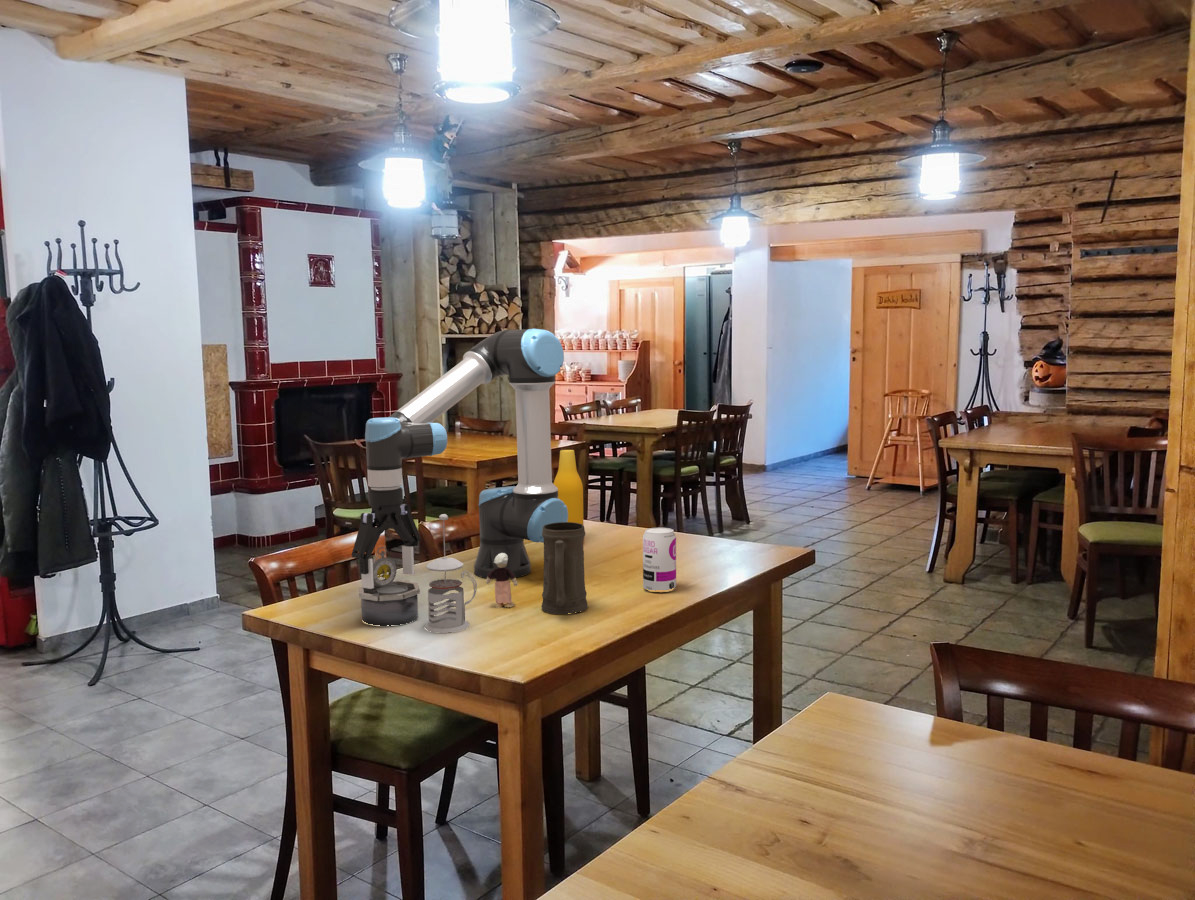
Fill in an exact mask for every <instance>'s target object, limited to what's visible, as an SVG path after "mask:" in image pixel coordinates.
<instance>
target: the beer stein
mask: <svg viewBox="0 0 1195 900" xmlns="http://www.w3.org/2000/svg"><path fill="white" fill-rule="evenodd" d="M583 525H584V524H583ZM583 525H582V524H579V523H574V522H558V523H551V524H547V525H544V526H543V531H542V536H543V538H544V543H543V587H542V588H543V590H542V594H541V597H542V603H541V611H543V612H544V613H547V612H548V613H547V614H551V613H552V614H551V615H559V614H568V613H575V612H580V611H583V612H585V611H586V610H585V609H587V610H588V608H589V606H588V605H589V604H588V601H587V594H588V593H587V590H586V582H585V563H584V562H585V557H584V556H585V555H584V554H585V553H584V552H585V551H584V544H583V540H584V541H585V536H586V531H585V526H583ZM584 610H585V611H584ZM568 615H569V614H568Z"/></svg>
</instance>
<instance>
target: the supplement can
mask: <svg viewBox="0 0 1195 900" xmlns="http://www.w3.org/2000/svg"><path fill="white" fill-rule="evenodd" d="M642 587H643V589H644V590H646V589H648V590H655V591H656V590H669V589H672V588H675V587H676V588H677V535H676V534H675V532H674V529H672V528H669V527H651V528H646V529H645V530H644V533H643V535H642ZM676 588H675V589H676Z"/></svg>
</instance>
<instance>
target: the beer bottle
mask: <svg viewBox="0 0 1195 900" xmlns="http://www.w3.org/2000/svg"><path fill="white" fill-rule="evenodd" d="M575 454H576V453H575V450H574V449H561V450H560V451H559V458H558V459H559V460H558V462H559V463H558V470H557V473H556V476H555V477H554V480H553V482H552V483H553V484H554V485H555V486H556V487H557V488H558V499H560V500H561V501H563V502H564V504H565V505H566V507H567V510H568V520H567V522H574V523H579V524H582V525H583V526H584V485H583V482H582V478H581V476H580V475H579V473H578V472H579V471H578V470H577V463H576V455H575ZM584 527H585V526H584ZM584 544H585V539H584V540H583V545H584Z"/></svg>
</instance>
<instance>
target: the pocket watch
mask: <svg viewBox="0 0 1195 900" xmlns="http://www.w3.org/2000/svg"><path fill="white" fill-rule="evenodd" d="M380 549H385V551H383V550H381V553H380V552H379V550H380ZM376 552H377V554H378V555H380V556H381V557H380V558H377V560H375V561H373V582H374V584H375V585H376V586H378V587H380V588H379V589H378V590H377V592H378V594H380V595H392V594H402V593H405V592H407V590H408V588H407V587H405V586H401V585H392V586H389V585H390V584H391V583H392V582H393V581H395V579H396V577H397V576H396V575H397V572H398V571H397V565H396V563H395V562H394V560H392V559H391V558H388V557H385V555H386V554H387V553H388V549H387V547H384V546H383V547H382V546H381V547H379V548H377V551H376ZM381 578H382V579H381Z"/></svg>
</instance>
